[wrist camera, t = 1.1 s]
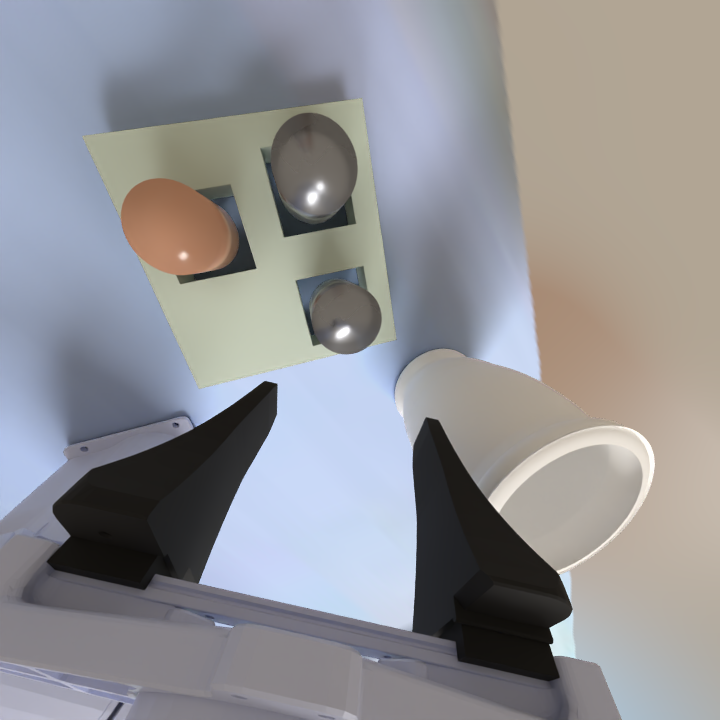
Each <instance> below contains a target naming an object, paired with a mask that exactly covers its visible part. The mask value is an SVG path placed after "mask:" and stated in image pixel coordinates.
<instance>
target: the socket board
mask: <svg viewBox="0 0 720 720" xmlns="http://www.w3.org/2000/svg"><path fill="white" fill-rule="evenodd" d="M302 113H318V114H321V115H324V116H326V117H329V118H330V119H332V120H333V121H335V122H336V123H337V124H338V125H339V126H340V127H341V128H342V129H343V130H344V131H345V132H346V134H347V135H348V137H349V138H350V140H351V142H352V144H353V147H354V150H355V153H356V157H357V165H358V173H357V180H356V185H355V187H354V190H353V192H352V194H351V196H350V197H349V199H348V200H347V201H346V203H345V204H344V205H345V210H346V216H347V221H348V225H347V226H342V227H336V228H331V229H326V230H321V231H316V232H310V233H305V234H300V235H295V236H290V237H285V235H284V231H283V228H282V224H281V220H280V216H279V212H278V209H277V205H276V201H275V197H274V194H273V190H272V186H271V182H270V178H269V175H268V171H267V167H266V164H267V163H271V149H272V144H273V140H274V138H275V136H276V133H277V132H278V130H279V128H280V127H281V126H282V125H283V124H284V123H285V122H286V121H287V120H288V119H290V118H291V117H293V116H295V115H298V114H302ZM82 137H83V139H84V141H85V143H86V146H87V148H88V150H89V152H90V154H91V156H92V159H93V161H94V163H95V165H96V167H97V169H98V172H99V174H100V176H101V178H102V180H103V182H104V184H105V187H106V189H107V191H108V193H109V195H110V197H111V200H112V202H113V204H114V206H115V208H116V210H117V213H118V215H119V217H120V219H121V210H122V205H123V202H124V199H125V197H126V195H127V194H128V193H129V191H130V190H131V189H132V188H133V187H134V186H136V185H137V184H139V183H141V182H143V181H145V180H149V179H155V178H165V179H171V180H175V181H178V182H180V183H183V184H185V185H187V186H188V187H190V188H192V189H193V190H195V191H197V192H198V193H200V194H201V195H203V196H204V197H206V198H208V199H209V200H212V199H217V198H223V197H229V196H234V198H235V201H236V204H237V207H238V210H239V214H240V217H241V220H242V223H243V226H244V230H245V233H246V236H247V239H248V242H249V246H250V249H251V252H252V255H253V258H254V261H255V265H256V269H251V270H246V271H241V272H236V273H231V274H226V275H221V276H216V277H211V278H207V279H202V280H197V281H196V279H195V277H194V274H190V275H174V274H169V273H166V272H163V271H160V270H158V269H156V268H154V267H152V266H151V265H149V264H148V263H146V262H145V261H144V260H143V259H142V258H141V257H139V256H138V255H137V256H138V258H139V260H140V262H141V264H142V267H143V269H144V271H145V273H146V275H147V277H148V280H149V282H150V284H151V286H152V288H153V290H154V293H155V295H156V297H157V299H158V301H159V303H160V306H161V308H162V310H163V312H164V314H165V316H166V319H167V321H168V323H169V325H170V327H171V329H172V332H173V334H174V336H175V338H176V340H177V342H178V344H179V347H180V349H181V351H182V353H183V355H184V357H185V360H186V362H187V364H188V366H189V368H190V370H191V373H192V375H193V377H194V379H195V381H196V383H197V386H198V388H199V389H201V388H205V387H209V386H213V385H217V384H221V383H225V382H229V381H233V380H237V379H241V378H245V377H249V376H253V375H257V374H261V373H265V372H269V371H273V370H277V369H281V368H285V367H289V366H293V365H297V364H301V363H305V362H309V361H313V360H317V359H321V358H325V357H329V356H333V355H337V354H339V353H335V352H332V351H330V350H328V349H327V348H325V347H324V346H323V345H322V344H321V343H320V342H319V340H318V339H317V337H316V335H312V336H311V333H310V329H309V326H308V322H307V318H306V314H305V311H304V307H303V303H302V299H301V295H300V292H299V288H298V284H297V280H300V279H305V278H309V277H314V276H319V275H323V274H328V273H333V272H338V271H342V270H347V269H352V268H356V271H357V276H358V282H359V286H360V287H362V288H364V289H365V290H367V291H368V292H370V293H371V294H372V295H373V296H374V298H375V299H376V300H377V302H378V304H379V306H380V309H381V315H382V322H381V328H380V331H379V333H378V335H377V337H376V339H375V340H374V341H373V342H372V343H371V344H370V345H369V346H373V345H377V344H381V343H385V342H389V341H393V340H396V333H395V326H394V319H393V312H392V305H391V298H390V291H389V284H388V277H387V270H386V263H385V256H384V249H383V242H382V235H381V228H380V221H379V214H378V207H377V200H376V193H375V186H374V179H373V172H372V165H371V158H370V151H369V144H368V137H367V130H366V123H365V115H364V108H363V101H362V98H359V99H352V100H344V101H337V102H330V103H322V104H315V105H308V106H300V107H293V108H285V109H278V110H271V111H263V112H256V113H248V114H241V115H234V116H226V117H219V118H212V119H204V120H197V121H189V122H182V123H175V124H167V125H160V126H153V127H145V128H138V129H130V130H123V131H116V132H108V133H101V134H94V135H86V136H82ZM136 254H137V253H136ZM369 346H368V347H369Z"/></svg>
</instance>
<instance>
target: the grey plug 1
mask: <svg viewBox="0 0 720 720" xmlns="http://www.w3.org/2000/svg"><path fill="white" fill-rule="evenodd" d="M271 168H272V173H273V176H274V179H275V182H276V186H277V189H278V192H279V195H280V198H281V201H282V203H283V205H284V206H285V208H286V209H287V210H288V212H289V213H290V214H291V215H292V216H294V217H295V218H296V219H298V220H300V221H302V222H305V223H308V224H320V223H323V222H326V221H328V220H329V219H331V218H332V217H333V216H334V215H335V214H336V213H337V212H338V211H339V209H340V208H341V207H342V206H343V205H344V204H345V203H346V201H347V200H348V199H349V197H350V196H351V194H352V192H353V190H354V187H355V185H356V180H357V173H358V165H357V157H356V153H355V150H354V147H353V144H352V142H351V140H350V138H349V137H348V135H347V134H346V132H345V131H344V130H343V129H342V128H341V127H340V126H339V125H338V124H337V123H336V122H335V121H333V120H332V119H330V118H329V117H326V116H324V115H321V114H318V113H302V114H298V115H295V116H293V117H291V118H290V119H288V120H287V121H286V122H285V123H284V124H283V125H282V126H281V127H280V128H279V130H278V132H277V133H276V136H275V138H274V140H273V144H272V149H271Z"/></svg>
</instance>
